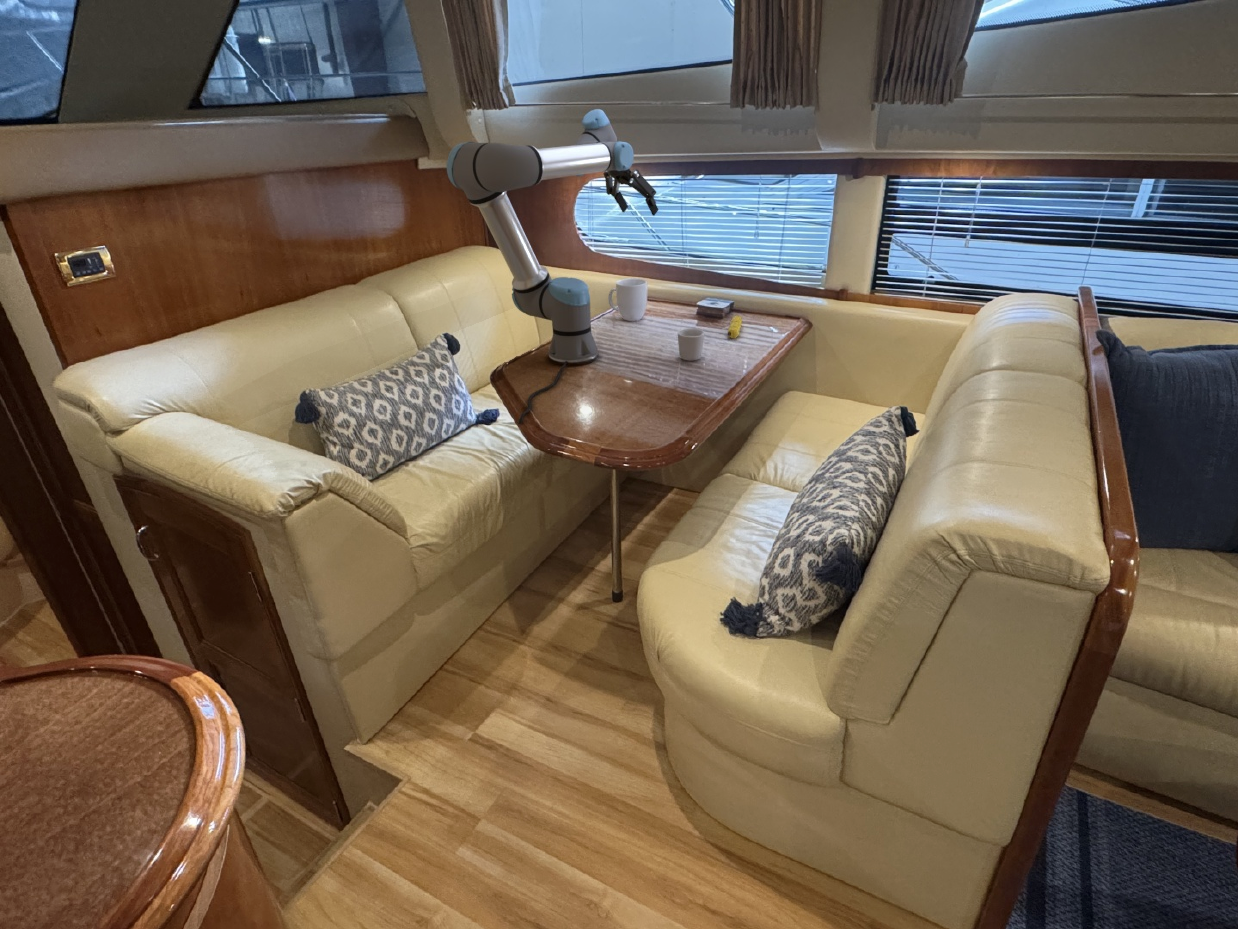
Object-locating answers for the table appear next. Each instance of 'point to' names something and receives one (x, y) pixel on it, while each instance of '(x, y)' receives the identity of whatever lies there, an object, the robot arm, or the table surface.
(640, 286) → the mug
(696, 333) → the cup
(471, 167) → the robot arm
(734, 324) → the yellow bumpy cylinder
